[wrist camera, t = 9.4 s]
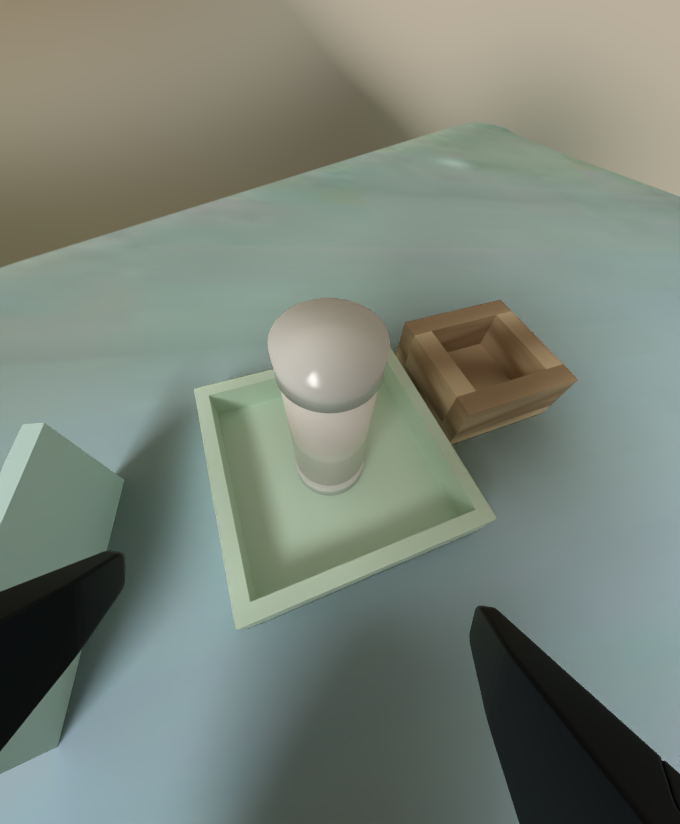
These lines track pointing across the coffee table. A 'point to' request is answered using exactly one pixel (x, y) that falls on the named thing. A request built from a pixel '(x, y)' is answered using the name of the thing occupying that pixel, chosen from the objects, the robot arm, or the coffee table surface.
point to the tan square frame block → (480, 369)
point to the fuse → (329, 386)
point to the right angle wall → (50, 546)
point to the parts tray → (326, 496)
